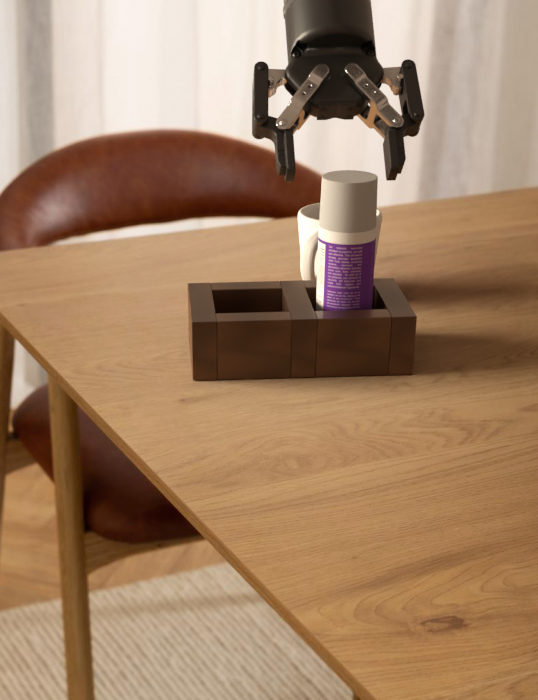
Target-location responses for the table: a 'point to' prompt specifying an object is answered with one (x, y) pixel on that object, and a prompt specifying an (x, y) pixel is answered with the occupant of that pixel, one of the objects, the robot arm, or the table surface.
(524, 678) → the table surface
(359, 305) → the container
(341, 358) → the holder
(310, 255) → the cup
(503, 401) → the table surface
